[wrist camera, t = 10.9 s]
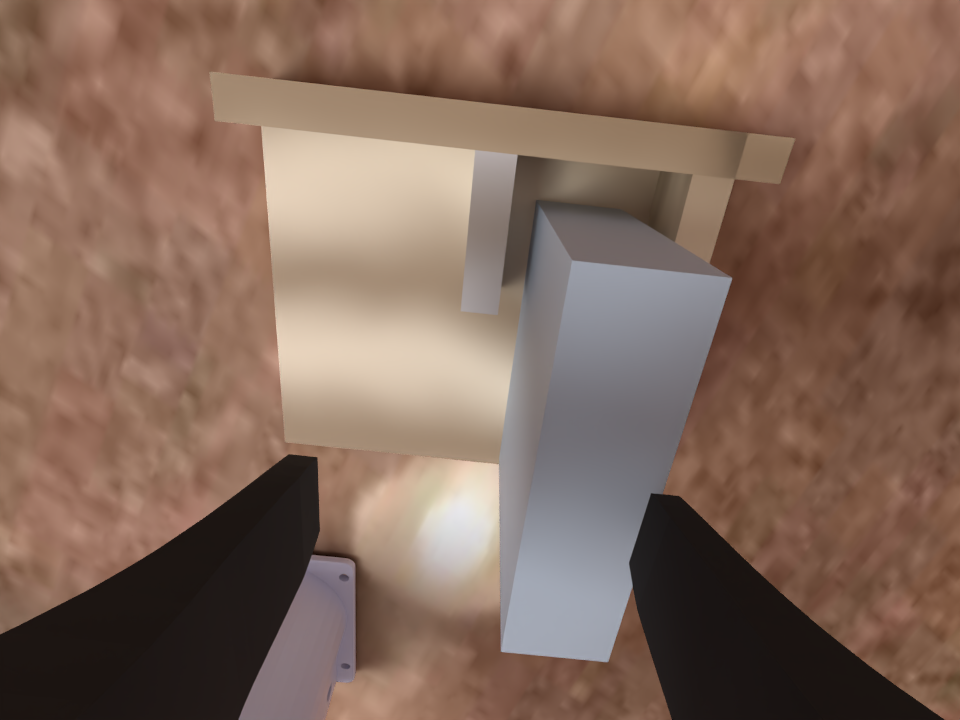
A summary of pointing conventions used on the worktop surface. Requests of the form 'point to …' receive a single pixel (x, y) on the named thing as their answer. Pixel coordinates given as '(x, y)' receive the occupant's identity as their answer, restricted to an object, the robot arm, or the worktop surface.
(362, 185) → the book rack
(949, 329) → the worktop surface
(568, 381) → the book
